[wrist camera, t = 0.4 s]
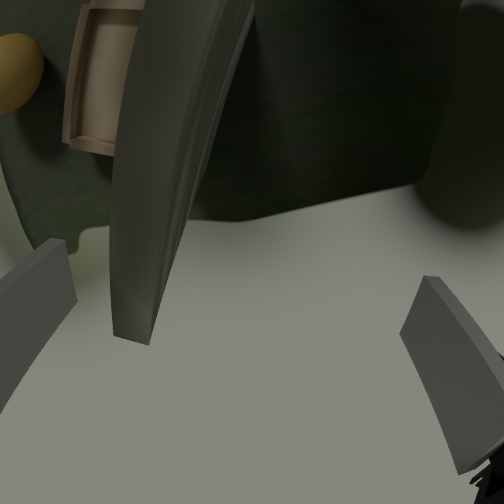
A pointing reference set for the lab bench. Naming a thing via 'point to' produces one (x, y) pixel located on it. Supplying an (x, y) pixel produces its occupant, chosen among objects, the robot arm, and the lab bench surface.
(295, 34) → the lab bench surface
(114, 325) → the ledge stand
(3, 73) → the stress ball
